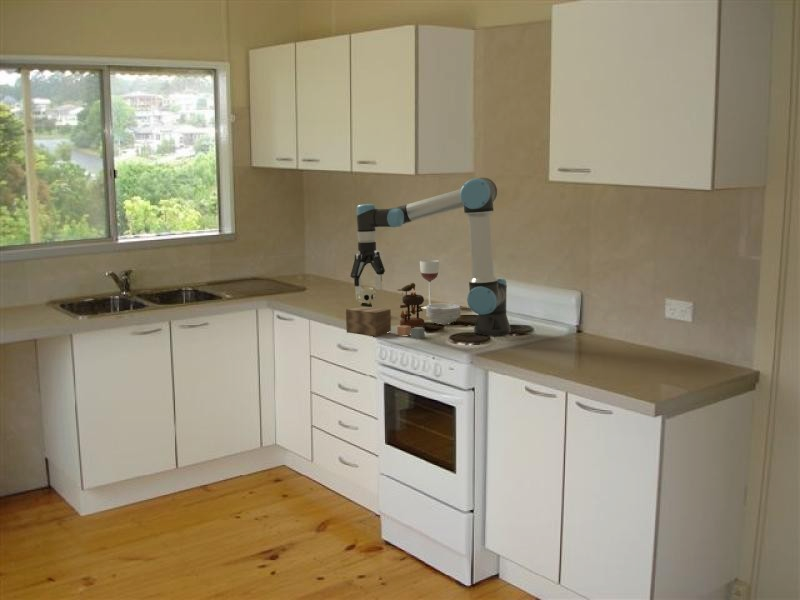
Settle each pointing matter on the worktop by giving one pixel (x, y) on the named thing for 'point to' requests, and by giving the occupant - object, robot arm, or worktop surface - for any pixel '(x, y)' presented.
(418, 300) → the music box
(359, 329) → the brown wooden block
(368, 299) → the character mug
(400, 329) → the terracotta block
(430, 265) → the wineglass
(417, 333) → the slate block
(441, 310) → the paper bowls
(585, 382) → the worktop surface
